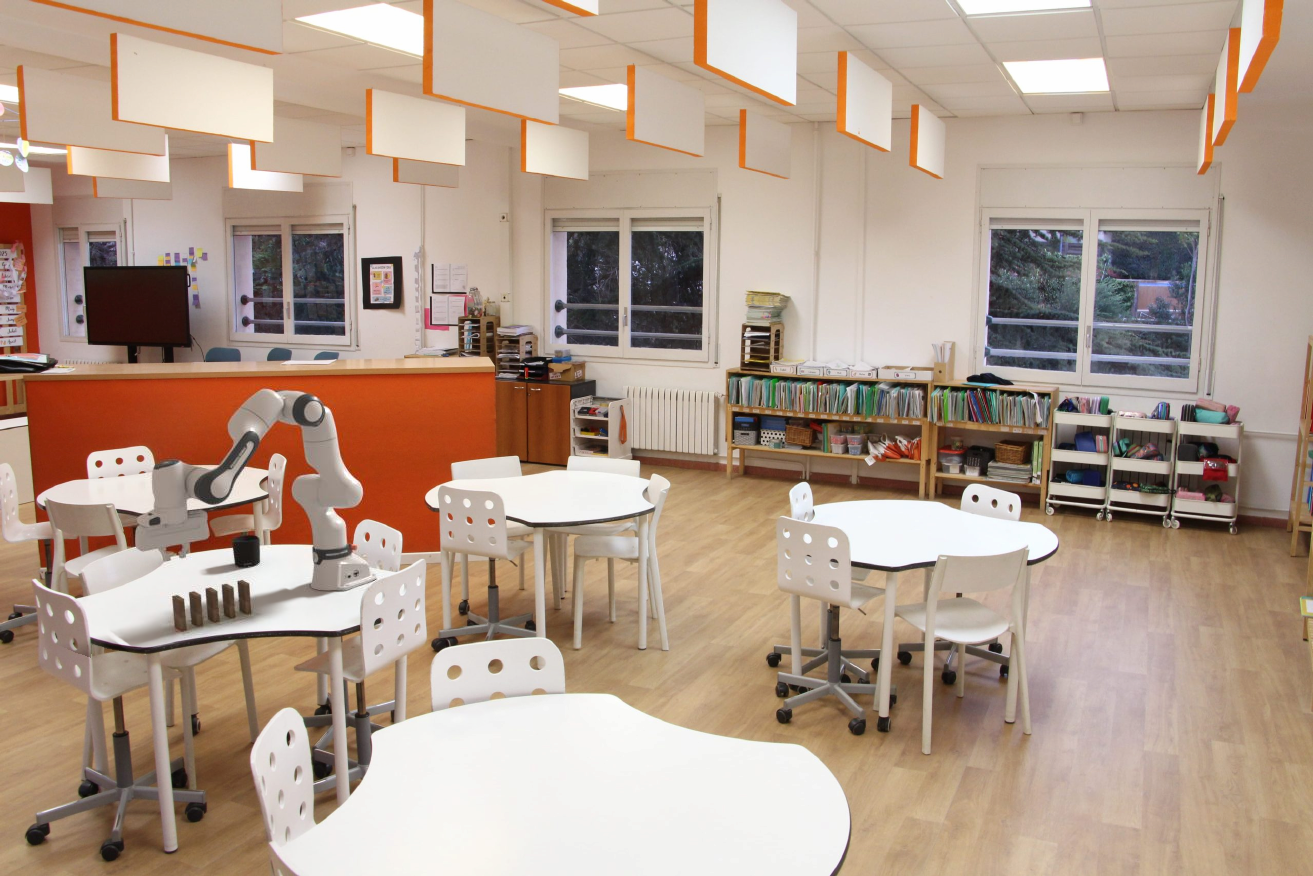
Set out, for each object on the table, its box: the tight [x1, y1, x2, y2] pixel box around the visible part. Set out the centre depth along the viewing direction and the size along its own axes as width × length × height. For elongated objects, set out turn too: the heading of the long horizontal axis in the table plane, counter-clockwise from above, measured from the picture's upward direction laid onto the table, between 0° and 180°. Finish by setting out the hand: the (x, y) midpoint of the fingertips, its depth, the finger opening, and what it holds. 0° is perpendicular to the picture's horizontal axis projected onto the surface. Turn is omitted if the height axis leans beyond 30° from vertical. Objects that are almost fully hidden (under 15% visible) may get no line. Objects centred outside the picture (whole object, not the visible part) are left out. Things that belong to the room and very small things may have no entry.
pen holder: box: [231, 534, 261, 568], centre depth 360 cm, size 9×9×10 cm
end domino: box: [171, 594, 187, 632], centre depth 293 cm, size 2×5×10 cm, turn 47°
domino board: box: [169, 608, 260, 635], centre depth 302 cm, size 24×9×1 cm, turn 137°
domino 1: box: [188, 590, 204, 627], centre depth 297 cm, size 2×5×10 cm, turn 47°
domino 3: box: [221, 583, 236, 619], centre depth 304 cm, size 2×5×10 cm, turn 47°
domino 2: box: [204, 587, 220, 623], centre depth 300 cm, size 2×5×10 cm, turn 47°
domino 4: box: [236, 579, 252, 615], centre depth 307 cm, size 2×5×10 cm, turn 47°
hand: (174, 559), depth 290 cm, fingers open, 3 cm apart
